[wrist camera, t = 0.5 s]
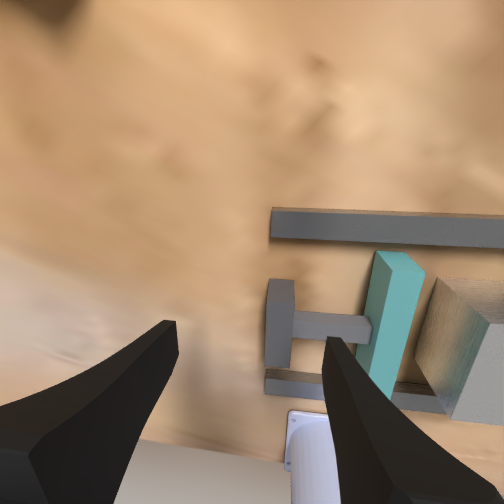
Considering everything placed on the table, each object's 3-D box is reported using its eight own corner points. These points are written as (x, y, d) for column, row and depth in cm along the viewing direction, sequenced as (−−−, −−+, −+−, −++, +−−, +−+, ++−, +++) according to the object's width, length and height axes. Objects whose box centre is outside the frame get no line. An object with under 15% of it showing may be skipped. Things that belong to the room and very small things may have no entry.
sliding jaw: (375, 372, 25) (388, 407, 22) (266, 362, 26) (263, 393, 23) (403, 251, 20) (425, 272, 17) (270, 245, 21) (267, 263, 18)
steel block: (473, 361, 24) (530, 429, 18) (413, 356, 24) (450, 419, 19) (507, 280, 20) (588, 330, 15) (436, 276, 21) (489, 323, 16)
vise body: (504, 409, 25) (537, 449, 22) (265, 383, 27) (262, 416, 24) (601, 218, 18) (669, 235, 15) (272, 207, 20) (269, 218, 17)
